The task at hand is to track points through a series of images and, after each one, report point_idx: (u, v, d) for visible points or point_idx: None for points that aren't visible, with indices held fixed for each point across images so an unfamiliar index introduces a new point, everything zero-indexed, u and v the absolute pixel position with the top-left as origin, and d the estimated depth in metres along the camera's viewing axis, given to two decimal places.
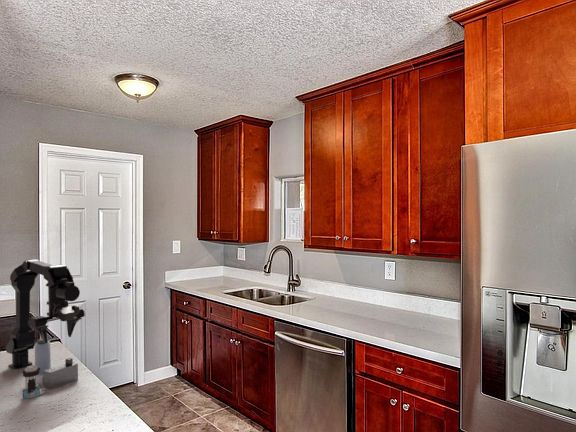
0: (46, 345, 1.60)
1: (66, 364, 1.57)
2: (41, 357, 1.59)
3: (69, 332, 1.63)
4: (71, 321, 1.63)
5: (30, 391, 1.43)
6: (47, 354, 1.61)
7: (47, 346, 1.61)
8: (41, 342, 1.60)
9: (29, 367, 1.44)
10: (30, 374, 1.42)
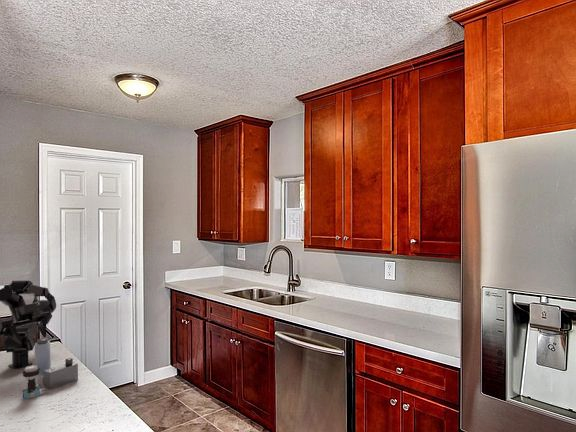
0: (46, 345, 1.60)
1: (66, 364, 1.57)
2: (40, 357, 1.59)
3: (43, 333, 1.69)
4: (41, 323, 1.71)
5: (30, 391, 1.43)
6: (47, 354, 1.61)
7: (47, 346, 1.61)
8: (41, 342, 1.60)
9: (29, 367, 1.44)
10: (30, 374, 1.42)
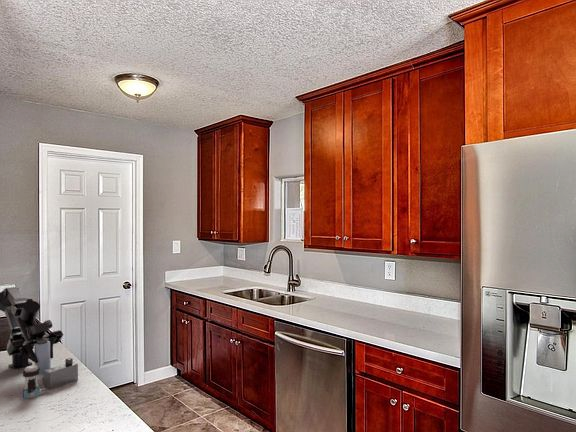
0: (46, 345, 1.60)
1: (66, 364, 1.57)
2: (40, 357, 1.59)
3: (50, 354, 1.64)
4: None
5: (30, 391, 1.43)
6: (47, 354, 1.61)
7: (47, 346, 1.61)
8: (41, 342, 1.60)
9: (29, 367, 1.44)
10: (30, 374, 1.42)
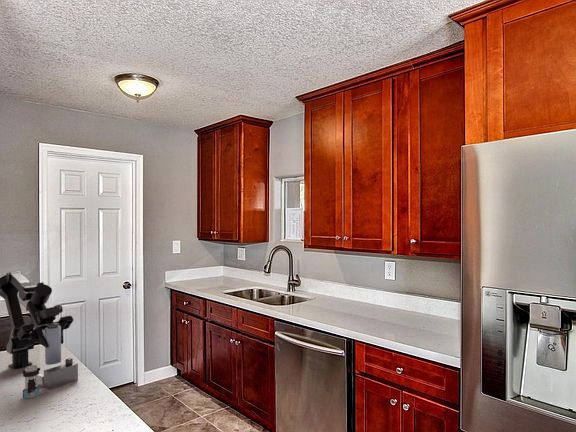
0: (57, 329, 1.56)
1: (66, 364, 1.57)
2: (51, 341, 1.55)
3: None
4: None
5: (30, 391, 1.43)
6: (57, 339, 1.57)
7: (58, 330, 1.57)
8: (51, 326, 1.56)
9: (29, 367, 1.44)
10: (30, 374, 1.42)
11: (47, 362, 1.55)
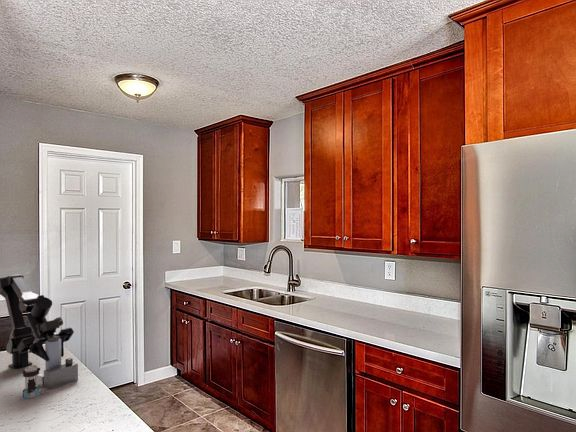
0: (57, 343, 1.57)
1: (66, 364, 1.57)
2: (51, 355, 1.55)
3: None
4: None
5: (30, 391, 1.43)
6: (58, 352, 1.57)
7: (58, 344, 1.57)
8: (52, 340, 1.56)
9: (29, 367, 1.44)
10: (30, 374, 1.42)
11: None
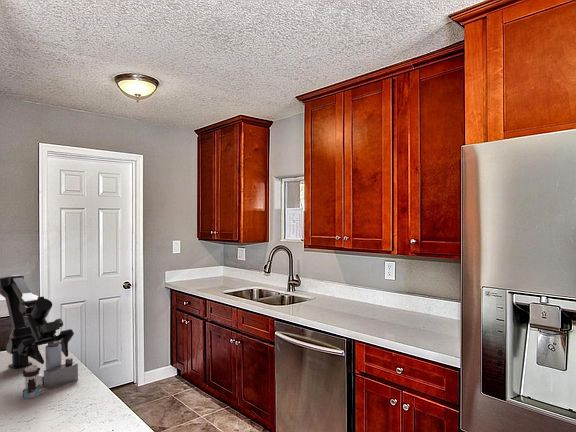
0: (57, 348, 1.57)
1: (66, 364, 1.57)
2: (51, 360, 1.55)
3: (65, 352, 1.61)
4: (62, 342, 1.63)
5: (30, 391, 1.43)
6: (58, 357, 1.57)
7: (58, 349, 1.57)
8: (52, 345, 1.56)
9: (29, 367, 1.44)
10: (30, 374, 1.42)
11: None
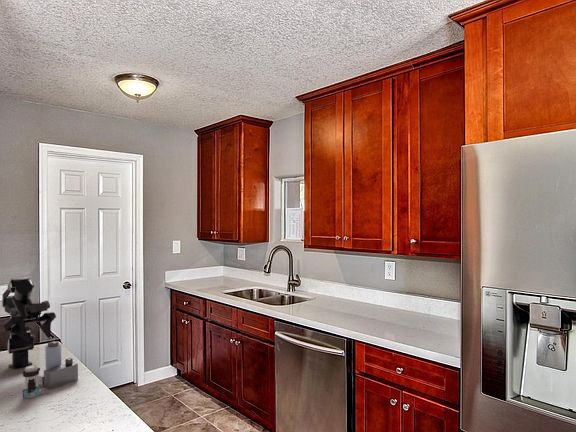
0: (57, 348, 1.57)
1: (66, 364, 1.57)
2: (51, 360, 1.55)
3: (47, 333, 1.69)
4: (45, 323, 1.71)
5: (30, 391, 1.43)
6: (58, 357, 1.57)
7: (58, 349, 1.57)
8: (52, 345, 1.56)
9: (29, 367, 1.44)
10: (30, 374, 1.42)
11: None
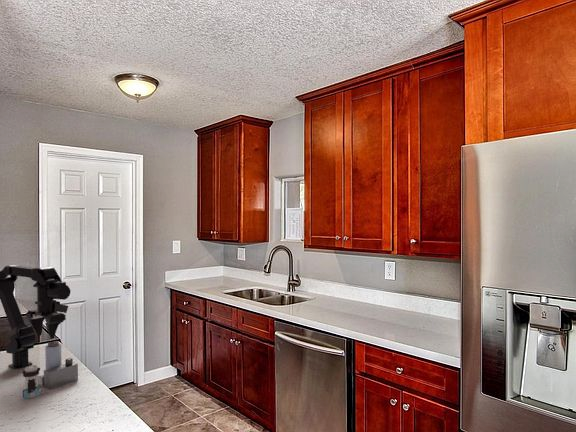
0: (57, 348, 1.57)
1: (66, 364, 1.57)
2: (51, 360, 1.55)
3: (40, 331, 1.72)
4: (40, 320, 1.73)
5: (30, 391, 1.43)
6: (58, 357, 1.57)
7: (58, 349, 1.57)
8: (52, 345, 1.56)
9: (29, 367, 1.44)
10: (30, 374, 1.42)
11: None
